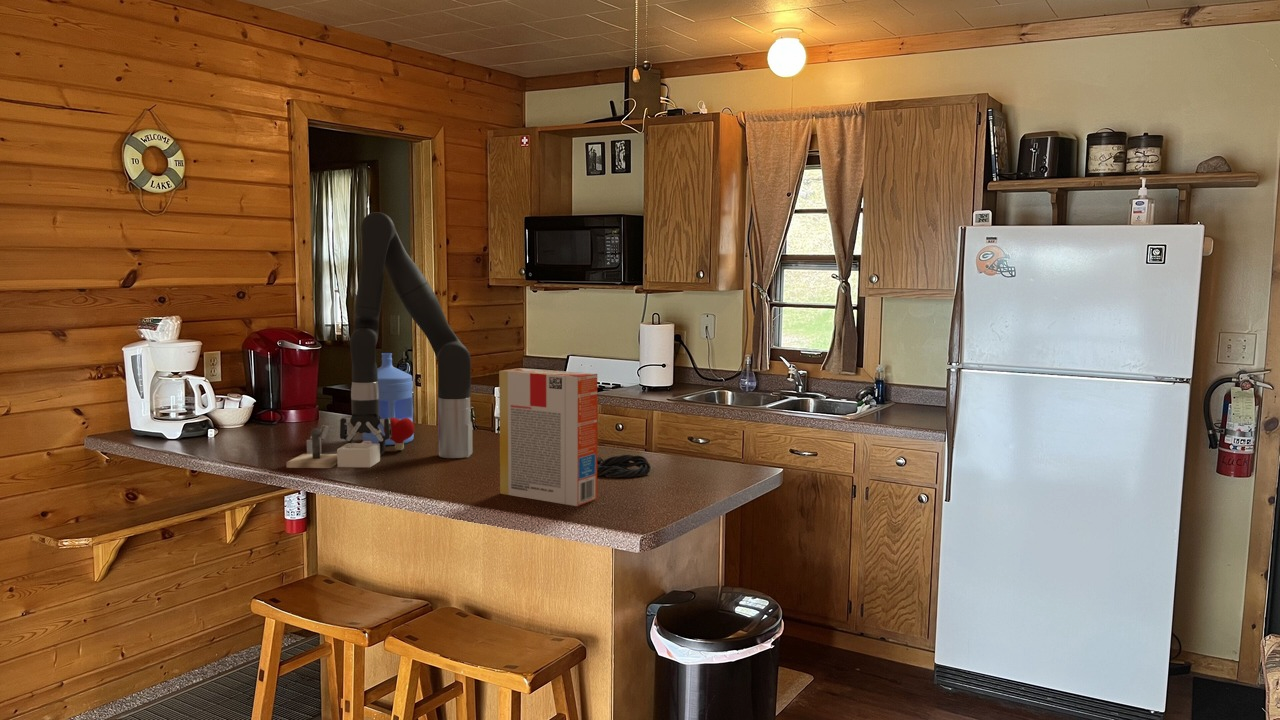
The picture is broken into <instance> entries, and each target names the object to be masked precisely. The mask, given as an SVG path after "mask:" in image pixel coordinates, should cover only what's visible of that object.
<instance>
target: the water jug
mask: <svg viewBox="0 0 1280 720" xmlns="http://www.w3.org/2000/svg"><path fill="white" fill-rule="evenodd" d="M392 355H393V353H391V352H384V353H383V352H382V353H381V365H380V367H377V371H378V388H379V416H380V418H381V419H383V418H388V417H389V418H397V419H399V420H401V419H404V418H408V419H410V420H411V421H412V422H413V423H414V406H413V405H414V403H413V389H414V384H413V375H411V374H410V373H407V372H406V371H403V370H402V369H399V368H397V367H394V365H393V358H392ZM378 427H379V428H380V430H381V431H382V433H383V435H384V436H385V433H384V426H383V425H382V423H381V422H380V424H379V425H378ZM377 430H378V429H377ZM414 434H415V432H414V433H413V435H412V436H411V437H410V438H408V439H406V440H404V441H403V442H404V445H405V444H408V443H411V442H412V441H413V440H414V438H415V437H414V436H415V435H414ZM364 441H371V443H378V442H379V440H378V438H377V437H376V436H375V435H374V434H373V433H362V442H364ZM385 446H395V442H394V441H393V440H391V439H390V438H389V439H387V440H385Z"/></svg>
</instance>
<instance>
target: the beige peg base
mask: <svg viewBox="0 0 1280 720" xmlns="http://www.w3.org/2000/svg"><path fill="white" fill-rule="evenodd" d="M320 430H321V429H319V428H312V429H311V430H310V433H309V434H310V436H312V454H307V453H302V454H300V455H298V456H295V457H294V458H292V459H290V460H287V462H286V468H289V469H293V468H295V469H301V468H302V469H331V468H333V467H335V466H336V465H338V462H337V453H320V435H321V431H320Z"/></svg>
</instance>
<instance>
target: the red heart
mask: <svg viewBox="0 0 1280 720" xmlns="http://www.w3.org/2000/svg"><path fill="white" fill-rule="evenodd" d="M390 419H391V432H392V437H391V438H390V439H391V440H393V441H394V442H395V445H394V449H395V450H396V451H397V452H402V451H403V449H405V444H404V442H403V441H404V440H406V439H408V438H410V437H411V436H412V435H413V433H414V434H415V429H416V428H415V427H416V426H415V424H414V421H413V422H412V421H411V420H410V419H408V418H404V419H401V420H399V419H397V418H390ZM384 433H385V427H384Z"/></svg>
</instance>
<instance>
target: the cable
mask: <svg viewBox="0 0 1280 720" xmlns="http://www.w3.org/2000/svg"><path fill="white" fill-rule="evenodd" d="M632 467H637V469H629V468H632ZM650 471H651V465H650V463H649V461H648V459H647V458H646V457H644V456H642V455H631V454H624V455H623V454H622V455H615V456H610V457H608V458H605V459H603V458H602V457H600V456H597V477H600V476H607V477H609V478H612V479H613V478H615V479H617V478H624V479H625V478H626V479H628V478H639V477H644V476H647V475H648V474H649V473H650Z"/></svg>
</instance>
